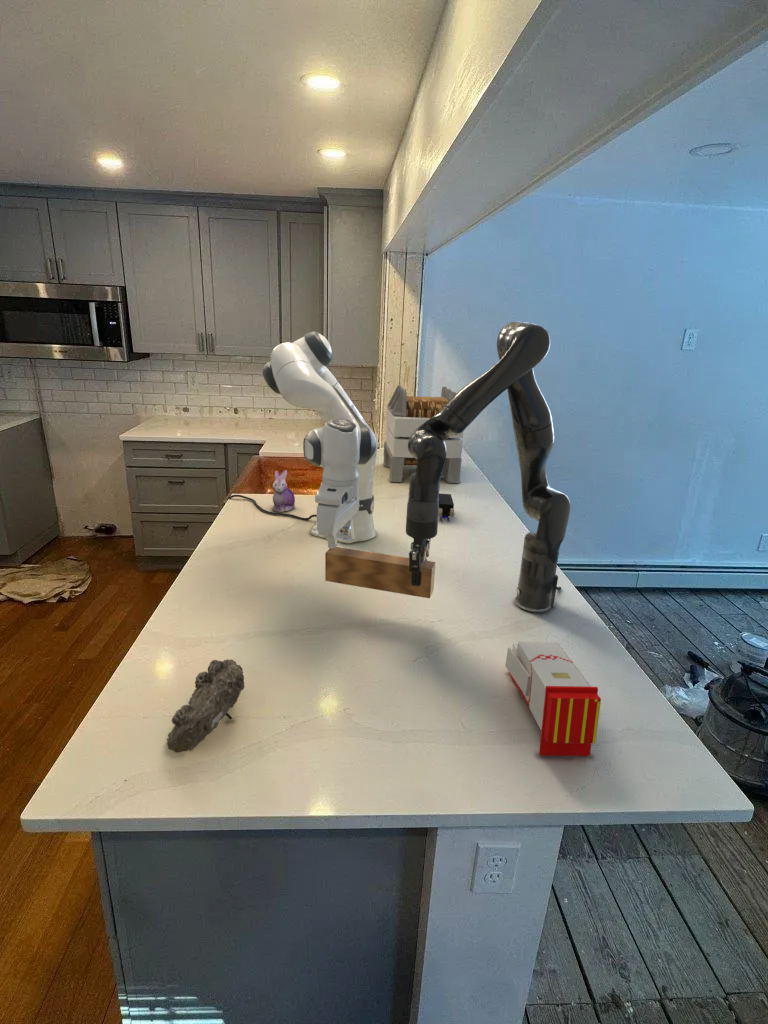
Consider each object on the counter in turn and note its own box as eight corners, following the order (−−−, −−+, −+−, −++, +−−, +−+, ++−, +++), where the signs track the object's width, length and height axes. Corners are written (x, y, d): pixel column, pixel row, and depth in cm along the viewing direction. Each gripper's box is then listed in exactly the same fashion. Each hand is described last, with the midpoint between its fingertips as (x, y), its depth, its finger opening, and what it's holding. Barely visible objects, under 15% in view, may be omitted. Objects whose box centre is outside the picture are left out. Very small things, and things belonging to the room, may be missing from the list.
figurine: (275, 514, 213) (275, 475, 208) (268, 505, 221) (266, 468, 216) (299, 511, 217) (299, 473, 212) (291, 502, 225) (290, 466, 220)
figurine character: (454, 527, 212) (449, 509, 225) (456, 508, 209) (451, 492, 222) (436, 526, 212) (433, 508, 225) (438, 508, 208) (434, 491, 222)
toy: (554, 624, 127) (610, 694, 97) (548, 679, 130) (602, 763, 100) (500, 623, 126) (541, 693, 97) (496, 678, 129) (534, 763, 100)
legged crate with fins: (382, 463, 289) (386, 382, 275) (445, 464, 293) (451, 384, 279) (390, 482, 257) (394, 392, 243) (460, 483, 261) (468, 394, 247)
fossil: (192, 660, 117) (244, 628, 112) (224, 691, 120) (276, 661, 115) (142, 746, 98) (202, 712, 93) (182, 779, 101) (242, 748, 96)
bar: (325, 581, 144) (325, 552, 142) (331, 573, 148) (331, 546, 146) (429, 598, 138) (432, 569, 135) (433, 590, 142) (435, 561, 139)
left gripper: (343, 475, 147) (342, 524, 152) (311, 498, 129) (311, 553, 134) (366, 478, 146) (364, 528, 150) (337, 501, 127) (336, 557, 132)
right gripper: (432, 528, 126) (427, 596, 132) (443, 508, 139) (438, 571, 145) (399, 523, 128) (396, 591, 134) (413, 504, 141) (410, 566, 147)
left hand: (339, 540), depth 142 cm, fingers open, 8 cm apart
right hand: (418, 580), depth 139 cm, fingers closed on bar, 4 cm apart
